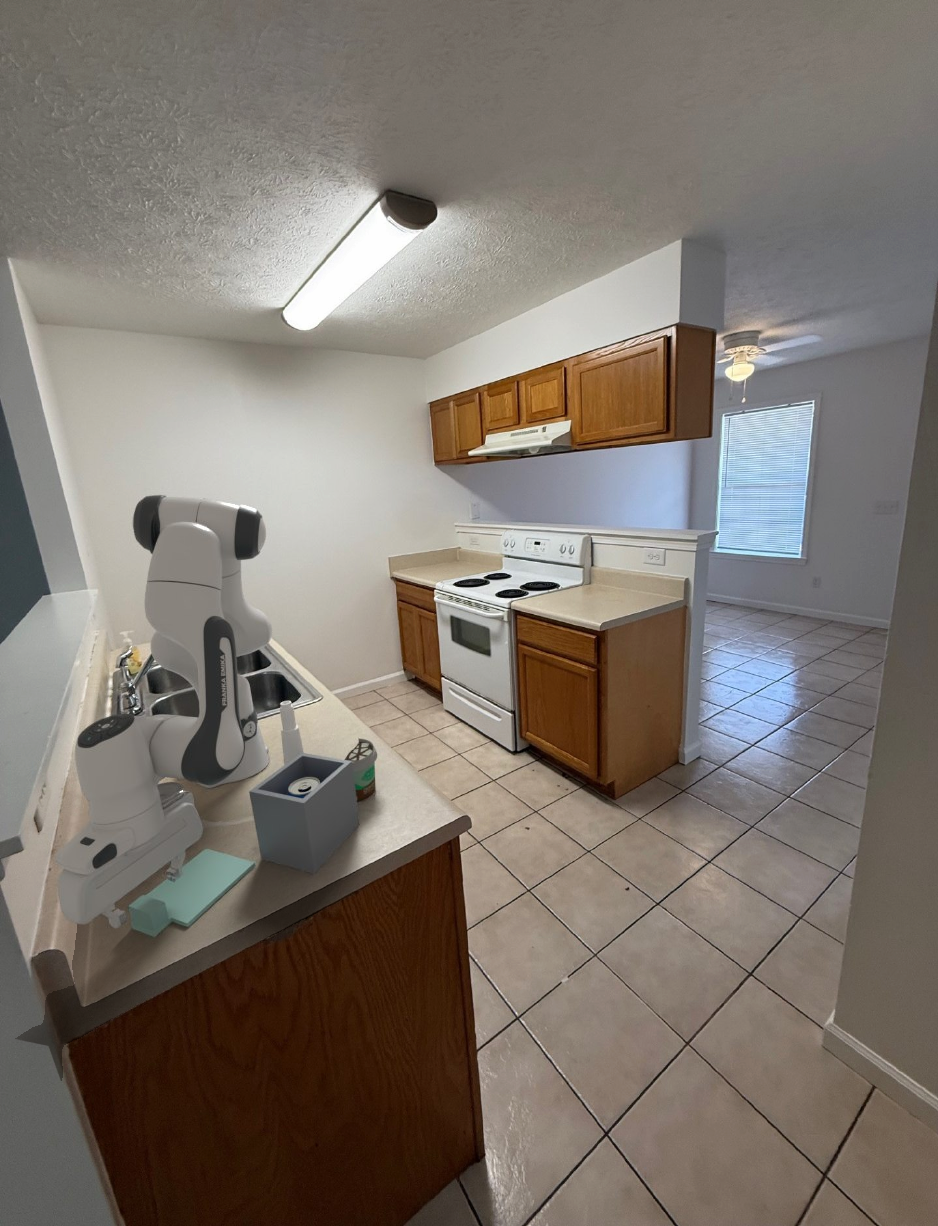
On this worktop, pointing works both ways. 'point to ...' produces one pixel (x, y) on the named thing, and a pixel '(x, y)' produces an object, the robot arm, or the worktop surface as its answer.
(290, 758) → the cosmetic bottle
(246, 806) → the worktop surface
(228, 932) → the worktop surface
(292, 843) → the tub
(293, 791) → the beverage can
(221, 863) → the lid
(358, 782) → the food container
